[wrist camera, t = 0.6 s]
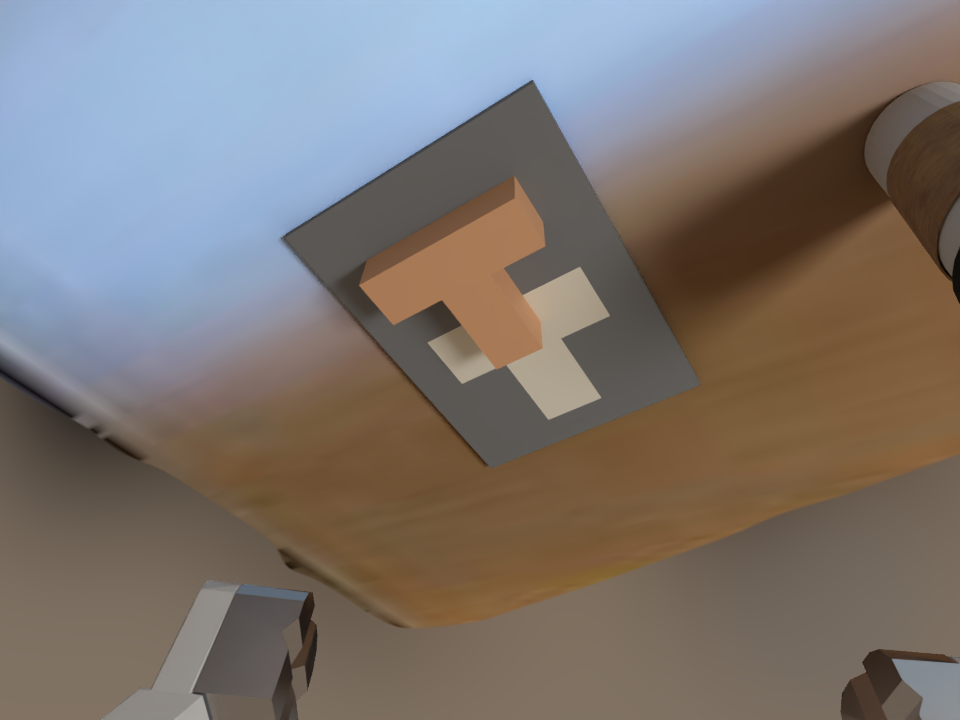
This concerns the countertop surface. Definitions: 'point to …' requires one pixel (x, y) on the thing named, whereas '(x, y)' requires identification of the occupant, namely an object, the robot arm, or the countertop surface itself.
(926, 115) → the coffee cup
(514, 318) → the t block
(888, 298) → the countertop surface
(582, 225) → the t mat
